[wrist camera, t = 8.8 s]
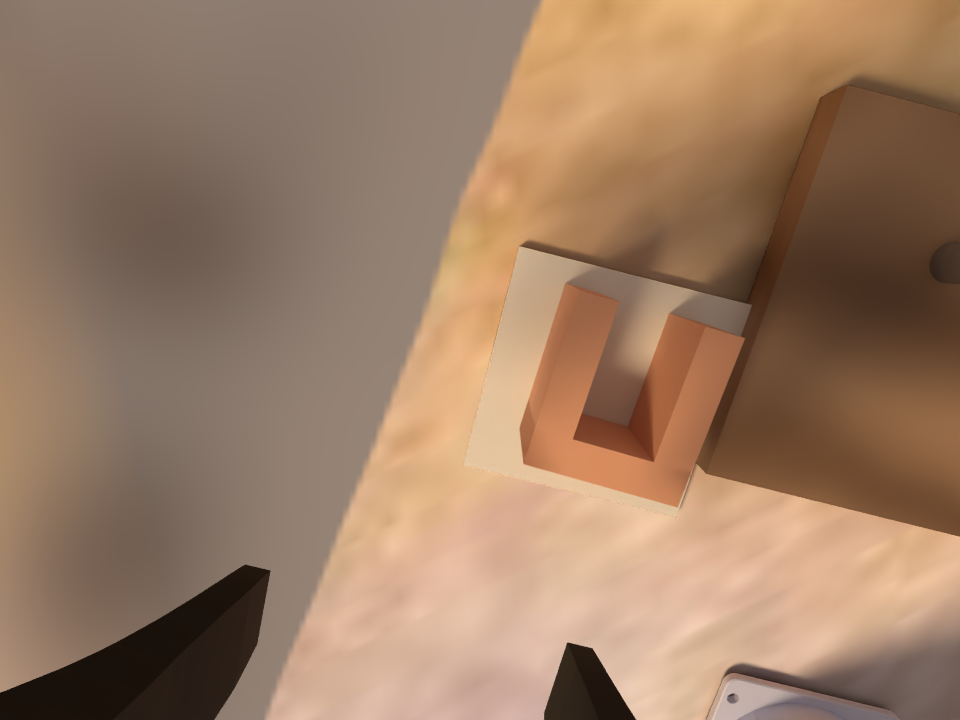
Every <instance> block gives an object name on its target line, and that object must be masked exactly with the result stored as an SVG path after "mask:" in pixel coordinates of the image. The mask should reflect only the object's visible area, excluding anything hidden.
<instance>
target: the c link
mask: <svg viewBox="0 0 960 720" xmlns="http://www.w3.org/2000/svg"><path fill="white" fill-rule="evenodd" d="M618 305H619V301H617V300H614V299H612V298H610V297H607V296H605V295H603V294H601V293H598V292H595V291H591V290H588V289H584V288H581V287H578V286H574V285H571V284H567V283H565V286H564V289H563V292H562V295H561V298H560V301H559V305H558V308H557V311H556V314H555V317H554V320H553V324H552V327H551V330H550V333H549V336H548V339H547V342H546V346H545V349H544V352H543V355H542V358H541V361H540V365H539V368H538V371H537V374H536V377H535V380H534V383H533V387H532V390H531V393H530V396H529V399H528V402H527V406H526V409H525V412H524V415H523V418H522V421H521V425H520V428H519V430H520V439H521V448H522V457H523V464H525V465H528V466H532V467H535V468H539V469H542V470H546V471H550V472H553V473H557V474H560V475H564V476H567V477H571V478H574V479H578V480H582V481H585V482H589V483H592V484H596V485H599V486H603V487H606V488H610V489H613V490H617V491H621V492H624V493H628V494H631V495H635V496H638V497H642V498H645V499H649V500H652V501H656V502H660V503H663V504H667V505H670V506H674V507H677V508H678V505H679V503H680V500H681V498H682V495H683V493H684V490H685V488H686V485H687V483H688V480H689V478H690V475H691V473H692V470H693V468H694V465H695V463H696V460H697V458H698V455H699V453H700V450H701V448H702V445H703V443H704V440H705V438H706V435H707V433H708V430H709V428H710V425H711V423H712V420H713V418H714V415H715V413H716V410H717V408H718V405H719V403H720V400H721V398H722V395H723V393H724V390H725V388H726V385H727V382H728V380H729V377H730V375H731V372H732V370H733V367H734V365H735V362H736V360H737V357H738V355H739V352H740V350H741V347H742V345H743V342H744V340H745V338H743V337H740V336H737V335H735V334H732V333H729V332H726V331H724V330H721V329H718V328H715V327H713V326H710V325H707V324H704V323H701V322H698V321H695V320H691V319H688V318H684V317H681V316H677V315H674V314H670V313H669V315H668V317H667V320H666V323H665V326H664V328H663V331H662V334H661V337H660V339H659V342H658V345H657V348H656V350H655V353H654V356H653V359H652V361H651V364H650V367H649V370H648V372H647V375H646V378H645V381H644V383H643V386H642V389H641V392H640V394H639V397H638V400H637V403H636V405H635V408H634V411H633V414H632V416H631V419H630V422H629V425H628V426H625V425H621V424H617V423H614V422H610V421H607V420H603V419H600V418H596V417H593V416H589V415H586V414H582V411H583V408H584V405H585V402H586V399H587V396H588V393H589V390H590V387H591V384H592V381H593V379H594V376H595V373H596V370H597V367H598V364H599V361H600V358H601V355H602V352H603V349H604V346H605V343H606V340H607V338H608V335H609V332H610V329H611V326H612V323H613V320H614V317H615V314H616V311H617V308H618Z"/></svg>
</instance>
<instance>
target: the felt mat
mask: <svg viewBox="0 0 960 720" xmlns="http://www.w3.org/2000/svg"><path fill="white" fill-rule="evenodd" d="M565 283H567V284H571V285H574V286H578V287H581V288H584V289H588V290H591V291H595V292H598V293H601V294H603V295H605V296H607V297H610V298H612V299H614V300H617V301H619V305H618V308H617V311H616V314H615V317H614V320H613V323H612V326H611V329H610V332H609V335H608V338H607V340H606V343H605V346H604V349H603V352H602V355H601V358H600V361H599V364H598V367H597V370H596V373H595V376H594V379H593V381H592V384H591V387H590V390H589V393H588V396H587V399H586V402H585V405H584V408H583V411H582V414H586V415H589V416H593V417H596V418H600V419H603V420H607V421H610V422H614V423H617V424H621V425H625V426H628V425H629V422H630V419H631V416H632V414H633V411H634V408H635V405H636V403H637V400H638V397H639V394H640V392H641V389H642V386H643V383H644V381H645V378H646V375H647V372H648V370H649V367H650V364H651V361H652V359H653V356H654V353H655V350H656V348H657V345H658V342H659V339H660V337H661V334H662V331H663V328H664V326H665V323H666V320H667V317H668V315H669V313H670V314H674V315H677V316H681V317H684V318H688V319H691V320H695V321H698V322H701V323H704V324H707V325H710V326H713V327H715V328H718V329H721V330H724V331H726V332H729V333H732V334H735V335H737V336H740V337H741V334H742V332H743V329H744V326H745V323H746V320H747V318H748V315H749V312H750V309H751V306H752V305H750V304H746V303H742V302H738V301H734V300H730V299H726V298H722V297H718V296H714V295H710V294H706V293H702V292H698V291H695V290H691V289H687V288H683V287H679V286H675V285H671V284H667V283H663V282H659V281H655V280H651V279H647V278H643V277H639V276H635V275H631V274H627V273H623V272H619V271H616V270H612V269H608V268H604V267H600V266H596V265H592V264H588V263H584V262H580V261H576V260H572V259H568V258H564V257H560V256H556V255H552V254H548V253H544V252H540V251H537V250H533V249H529V248H525V247H521V246H519V249H518V253H517V257H516V261H515V265H514V269H513V272H512V276H511V280H510V284H509V288H508V292H507V296H506V300H505V304H504V307H503V311H502V315H501V319H500V323H499V327H498V331H497V335H496V339H495V342H494V346H493V350H492V354H491V358H490V362H489V366H488V370H487V374H486V377H485V381H484V385H483V389H482V393H481V397H480V401H479V405H478V409H477V412H476V416H475V420H474V424H473V428H472V432H471V436H470V440H469V444H468V447H467V451H466V455H465V459H464V464H463V465H465V466H469V467H473V468H477V469H481V470H485V471H489V472H493V473H497V474H501V475H505V476H509V477H513V478H517V479H521V480H525V481H530V482H534V483H538V484H542V485H546V486H550V487H554V488H558V489H562V490H566V491H570V492H574V493H578V494H582V495H586V496H590V497H595V498H599V499H603V500H607V501H611V502H615V503H619V504H623V505H627V506H631V507H635V508H639V509H643V510H647V511H651V512H655V513H660V514H664V515H668V516H672V517H676V516H677V513H678V510H679V508H680V505H681V502H682V499H683V496H684V494H685V491H686V488H687V485H688V483H687V485H686V488H685V490H684V493H683V495H682V498H681V500H680V503H679V505H678V508H677V507H674V506H670V505H667V504H663V503H660V502H656V501H652V500H649V499H645V498H642V497H638V496H635V495H631V494H628V493H624V492H621V491H617V490H613V489H610V488H606V487H603V486H599V485H596V484H592V483H589V482H585V481H582V480H578V479H574V478H571V477H567V476H564V475H560V474H557V473H553V472H550V471H546V470H542V469H539V468H535V467H532V466H528V465H525V464H523V457H522V448H521V439H520V430H519V428H520V425H521V421H522V418H523V415H524V412H525V409H526V406H527V402H528V399H529V396H530V393H531V390H532V387H533V383H534V380H535V377H536V374H537V371H538V368H539V365H540V361H541V358H542V355H543V352H544V349H545V346H546V342H547V339H548V336H549V333H550V330H551V327H552V324H553V320H554V317H555V314H556V311H557V308H558V305H559V301H560V298H561V295H562V292H563V289H564V286H565ZM694 466H695V465H694ZM692 471H693V470H692ZM691 474H692V473H691ZM690 477H691V475H690ZM689 480H690V478H689ZM689 480H688V482H689Z"/></svg>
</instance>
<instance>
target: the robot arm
mask: <svg viewBox="0 0 960 720" xmlns="http://www.w3.org/2000/svg"><path fill="white" fill-rule="evenodd" d="M269 576H270V570H265V569H261V568H257V567H253V566H249V565H244V566H242V567H240V568H239V569H237V570H235V571H234V572H232V573H231V574H229V575H228V576H226V577H225V578H223V579H222V580H220V581H219V582H217V583H215V584H214V585H212V586H211V587H209V588H208V589H206V590H205V591H203V592H202V593H200V594H198V595H197V596H195V597H194V598H192V599H190V600H189V601H187V602H186V603H184V604H182V605H181V606H179V607H177V608H176V609H174V610H173V611H171V612H169V613H168V614H166V615H164V616H163V617H161V618H160V619H158V620H156V621H154V622H152V623H150V624H149V625H147V626H145V627H143V628H142V629H140V630H138V631H136V632H135V633H133V634H131V635H129V636H127V637H125V638H124V639H122V640H120V641H118V642H116V643H114V644H112V645H110V646H108V647H106V648H104V649H102V650H100V651H99V652H96V653H94V654H92V655H90V656H87V657H85V658H83V659H81V660H79V661H77V662H75V663H72V664H70V665H68V666H66V667H64V668H61V669H59V670H56V671H54V672H51V673H49V674H46V675H44V676H42V677H39V678H36V679H34V680H31V681H29V682H26V683H24V684H21V685H19V686H16V687H14V688H11V689H9V690H7V691H4V692H1V693H0V720H214V719H215V718H216V716H217V714H218V713H219V711H220V710H221V708H222V707H223V705H224V704H225V702H226V701H227V699H228V698H229V696H230V695H231V693H232V691H233V690H234V688H235V686H236V684H237V682H238V681H239V679H240V677H241V675H242V673H243V671H244V669H245V667H246V665H247V663H248V661H249V659H250V657H251V655H252V653H253V651H254V649H255V647H256V645H257V642H258V637H259V630H260V625H261V619H262V615H263V609H264V604H265V598H266V592H267V587H268V582H269ZM732 693H734V694H733V695H732V696H728V695H730V694H732ZM544 720H636V719H635V717H634V716H633V714H632V713H631V711H630V709H629V708H628V706H627V705H626V703H625V701H624V700H623V698H622V697H621V695H620V693H619V692H618V690H617V688H616V687H615V685H614V683H613V682H612V680H611V678H610V677H609V675H608V673H607V672H606V670H605V668H604V667H603V665H602V663H601V662H600V660H599V658H598V657H597V655H596V654H595V652H594V650H593V649H592V648H588V647H584V646H580V645H576V644H572V643H568V642H567V645H566V648H565V651H564V654H563V657H562V660H561V663H560V666H559V670H558V673H557V676H556V679H555V682H554V685H553V688H552V691H551V694H550V697H549V700H548V703H547V706H546V709H545V712H544ZM707 720H900V719H899V718H898V717H897V715H896V714H895V713H894V712H892V711H890V710H887V709H883V708H878V707H874V706H870V705H866V704H862V703H858V702H854V701H849V700H845V699H841V698H837V697H833V696H829V695H825V694H820V693H816V692H812V691H808V690H804V689H800V688H796V687H792V686H787V685H783V684H779V683H775V682H771V681H767V680H763V679H758V678H754V677H750V676H746V675H742V674H738V673H731V674H728V675H727V676H725V677H724V679H723V681H722V683H721V685H720V688H719V690H718V693H717V695H716V698H715V700H714V703H713V705H712V707H711V710H710V712H709V715H708V717H707Z"/></svg>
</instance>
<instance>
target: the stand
mask: <svg viewBox="0 0 960 720" xmlns="http://www.w3.org/2000/svg"><path fill="white" fill-rule="evenodd" d="M747 304H750V305H752V306H751V309H750V312H749V315H748V318H747V320H746V323H745V326H744V329H743V332H742V334H741V337H743V338H745V340H744V342H743V345H742V347H741V350H740V352H739V355H738V357H737V360H736V362H735V365H734V367H733V370H732V372H731V375H730V377H729V380H728V382H727V385H726V388H725V390H724V393H723V395H722V398H721V400H720V403H719V405H718V408H717V410H716V413H715V415H714V418H713V420H712V423H711V425H710V428H709V430H708V433H707V435H706V438H705V440H704V443H703V445H702V448H701V450H700V453H699V455H698V458H697V460H696V463H697V464H698V465H699V466H700V467H701V469H702V470H703V471H704V472H705V473H706V474H709V475H713V476H717V477H722V478H726V479H730V480H734V481H738V482H742V483H746V484H750V485H754V486H758V487H762V488H766V489H770V490H774V491H778V492H782V493H786V494H790V495H794V496H798V497H802V498H806V499H810V500H814V501H818V502H822V503H826V504H831V505H835V506H839V507H843V508H847V509H851V510H855V511H859V512H863V513H867V514H871V515H875V516H879V517H883V518H887V519H891V520H895V521H899V522H903V523H907V524H911V525H915V526H919V527H923V528H927V529H931V530H936V531H940V532H944V533H948V534H952V535H956V536H960V114H958V113H954V112H950V111H947V110H943V109H939V108H935V107H931V106H927V105H923V104H920V103H916V102H912V101H908V100H904V99H900V98H897V97H893V96H889V95H885V94H881V93H877V92H874V91H870V90H866V89H862V88H858V87H854V86H851V85H847V86H844V87H842V88H840V89H838V90H836V91H834V92H832V93H830V94H827V95H825V96H823V97H821V98H820V100H819V103H818V106H817V109H816V112H815V115H814V117H813V120H812V123H811V126H810V129H809V131H808V134H807V137H806V140H805V143H804V145H803V148H802V151H801V154H800V157H799V159H798V162H797V165H796V168H795V171H794V174H793V176H792V179H791V182H790V185H789V188H788V190H787V193H786V196H785V199H784V202H783V204H782V207H781V210H780V213H779V216H778V218H777V221H776V224H775V227H774V230H773V233H772V235H771V238H770V241H769V244H768V247H767V249H766V252H765V255H764V258H763V261H762V263H761V266H760V269H759V272H758V275H757V277H756V280H755V283H754V286H753V289H752V292H751V294H750V297H749V300H748V303H747Z"/></svg>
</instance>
